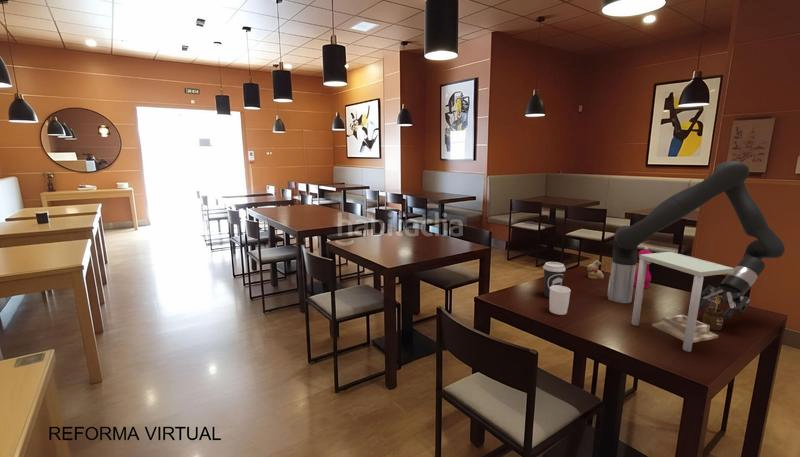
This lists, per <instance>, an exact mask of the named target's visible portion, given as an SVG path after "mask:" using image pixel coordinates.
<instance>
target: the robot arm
mask: <svg viewBox="0 0 800 457" xmlns="http://www.w3.org/2000/svg"><path fill="white" fill-rule="evenodd" d="M749 175H750V169H749V167H748V165H747V164H745V163H744V162H741V161H736V160H733V161H732V160H730V161H729V160H728V161H724V162H720V163H719V164H718V165H716V167H715V168H714V170H713V173H712V174H710V175H709V176H707V177H706V178H705V179H704V180H702V181H701V182H700V181H699V182H698V183H695V185H692V186H689V187H687V188H685V189H683V190H681V191H679V192H677V193H675V194H673V195H672V196H670V197H668V198H666V199H665V200H664V201H663V202H660V204H658V205H657V206H656V207H655V208H653V209H652V210H651V212H649V213H648V214H647V215H646V216H645V217H644V218H642V219H641V220H639V221H637V222H635V223H634V224H632V225H622V226H619V227H618V228H617V229H616V231H615V233H614V235H613V236H614V238H613V245H612V246H613V247H612V258H611V259H612V261H611V267H610V268H611V269H610V275H609V279H608V287H607V300H608V301H612V302H614V303H619V304H630V303H632V300H633V292H634V287H635V286H634V282H635V279H634V278H635V272H636V271H637V270H636V269H637V263H638V247H639V245H641V244H642V243H643V242H645V241H647V240H648V239H649V238H650V237H652V236H653V235H654V234H656V233H657V232H660V231H661V230H664V229H665V228H667V227H669V226H671V225H672V224H675V223H676V222H678V221H679V220H681V219H683V218H685V217H686V216H688V215H690V214H691V213H693V212H694V211H696V210H697V209H698V208H700V207H701V206H703V205H705V204H706V203H707V202H709V201H710V200H712V199H713V198H715V197H716V196H718V195H720V194H722V193H724V194H725V195H726V197H727V198H728V200H729V203H731V206H732V208H733V209H734V212H735V214H736V216H737V220H739V222H740V225H741V227H742V229H743V231H744V233H745V235H747V236H748V237H751V238H752V237H753V238H755V239H756V240H753V241H751V242H749V244H748V245H747V246H746V248H745V250H744V253H743V256H742V258H741V259H740V261H739V263H737V264H736V265H735V266H734V267H733V268H734V273H727V275H726V277H725V278H723V280H722V281H721V283H719V286H718V287H714V286H713V285H712V284H709V285H707V286H706V287H704V289H703V290H701V296H700V299H701V300H700V302H699V308H698V309H699V310H701V311H703V310H704V309H706V308H707V305H708V304H709V303H712V302H715V300H716V296H717V295H718V296H719V295H720V297H719V301H720V299H721V302H720V303H724V304H728V305H729V307H728V308H726V310H725V311H724V312H723V315H722V316H723V320H724V319H725V320H728V319H730V318H731V317H732V316H733V315H734V313H739V314H743V313H744V312H745V310H746V309H747V307H748V306H749V305H750V303H751V301H752V300H750V298H749V296H745V294H746V293H747V292H748V291H749V290H750V289H751V287H752V286H753V285H754V284H755V282H756V280H757V279H758V277H759V276H760V275H761V274H762V273H763V271H765V270H764V269H765V268H766V263H765V262H764V261H763V260H762V259H779V258H781V257H782V256H783V255H784V254H785V251H786V248H785V244H784V243H783V241H782V239H781V238H780V237H779V236H778V235H777V234H776V232H775V231H773V229H772V228H770V226H769V224H768V222H767V220H766V218H765V216H764V214H763V211H762V210H761V208H760V207H759V205H757V203H756V202H755V200H754V199H753V198H752V196H751V195H750V192H749V190H748V189H747V188H746V187H747V186H746V185H745V181H746V180H747V179H748V177H749ZM718 296H717V300H718ZM721 296H722V297H721ZM738 301H740V302H739V303H738V304H737V305H736V302H738Z"/></svg>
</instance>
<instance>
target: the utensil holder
mask: <svg viewBox="0 0 800 457" xmlns="http://www.w3.org/2000/svg"><path fill="white" fill-rule="evenodd" d="M717 296H718V295H717ZM717 296H715V297H716V300H715V301H714V303H712V302H709V305H710V306H708V307H707V306H706V307H705V310H704V311H705V312H703V315H702V323H704V324H707V325H709V326H710V329H709V330H712V331H720V330H722V328H723V324H724V318H723V316H722V315H723V314H724V311H723V310H722V309H720V308H718V305H720V304H721V303H722V302H721V299H720V301H719V297H720V295H719V296H718V300H717ZM721 297H722V296H721Z"/></svg>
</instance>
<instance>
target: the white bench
mask: <svg viewBox="0 0 800 457" xmlns="http://www.w3.org/2000/svg"><path fill="white" fill-rule="evenodd" d="M638 258H639V259H640V262H638V263H639V264H638V268H639V270H638V269H637V270H638V277H637V285H636V287H635V292H634V300H633V310H632V316H631V325H633V326H635V327H636V326H638V327H639V325H640V317H641V312H642V304H643V296H644V291H645V290H644V282H645V275H646V268H647V261H649V262H650V263H654V264H657V265H660V266H663V267H667V268H670V269H674V270H677V271H680V272H682V273H686V274H690V275H693V281H692V282H693V283H692V287H691V294H690V300H689V304H688V305H689V307H688V313H687V317H688V318H687V324H686V330H685V336H684V341H682V342H683V344H682V350H683V351H685V352H689V353H690V352H692V348H693V338H694V332H695V326H696V320H697V319H698V315H699V314H698V313H699V309H700V308H699V303H700V302H701V297H700V296H701V292H702V291H703V290H702V289H703V283H704V277H708V276H709V277H711V276H717V275H725V274H727V275H728V274H729V273H734V268H735V267H731V266H726V265H723V264H719V263H715V262H713V261H712V262H711V261H708V260H703V259H700V258H696V257H693V256H689V255H684V254H681V253H677V252H672V251H666V252H665V251H663V252H655V253H653V252H652V254H641V255H640V257H638ZM639 259H638V260H639ZM697 321H698V320H697Z"/></svg>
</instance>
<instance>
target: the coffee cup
mask: <svg viewBox="0 0 800 457" xmlns="http://www.w3.org/2000/svg"><path fill="white" fill-rule="evenodd" d="M542 268H543V284H544V285H543V289H544V290H543V292H544V295H543V296H545V297H547V298H549V297H550V287H551V286H555V285H558V286H563V281H564V276H565V272H566V271H567V270H566V267H565V264H564V263H561V262H557V261H547V262H545V263H544V265H543V266H542Z"/></svg>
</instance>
